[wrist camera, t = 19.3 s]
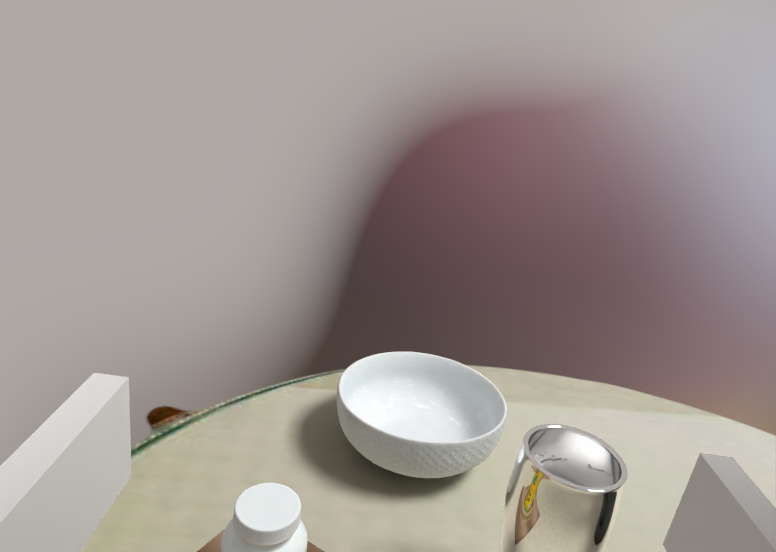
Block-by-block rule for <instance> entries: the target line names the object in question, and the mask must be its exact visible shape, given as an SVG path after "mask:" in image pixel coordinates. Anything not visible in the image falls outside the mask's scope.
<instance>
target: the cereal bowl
mask: <svg viewBox="0 0 776 552" xmlns="http://www.w3.org/2000/svg"><path fill="white" fill-rule="evenodd" d="M337 411H338V417H339V422H340V425H341V428H342V430H343V432H344V434H345V436H346V437H347V439H348V440H349V441H350V443H351V444H352V445H353V446H354V447H355V448H356V450H357V451H358V452H360V453H361V454H362V455H363V456H364V457H366V458H367V459H368V460H370V461H371V462H372V463H374V464H377V465H378V466H380V467H382V468H384V469H386V470H390V471H392V472H395V473H399V474H401V475H405V476H410V477H417V478H441V477H448V476H453V475H456V474H460V473H462V472H466V471H467V470H469V469H472V468H473V467H475V466H477V465H479V464H480V463H481V462H482V461H484V460H485V458H487V457H488V456H489V455H490V453H491V452H492V451H493V449H494V448H495V447H496V445H497V442H498V441H499V439H500V436H501V434H502V431H503V428H504V424H505V421H506V415H507V406H506V402H505V400H504V398H503V396H502V394H501V393H500V391H499V390H498V389H497V387H496V386H495V385H494V384H493V383H492V382H491V381H490V380H489V379H487V378H486V377H485V376H483V375H482V374H480V373H479V372H477V371H475V370H473V369H472V368H470V367H468V366H466V365H463V364H461V363H459V362H456V361H453V360H450V359H447V358H443V357H440V356H436V355H431V354H425V353H416V352H388V353H381V354H376V355H372V356H368V357H365V358H363V359H361V360H358V361H356V362H355V363H353V364H352V365H350V366H349V367H348V368H347V369H346V370H345V371H344V372H343V374H342V375H341V377H340V379H339V383H338V387H337Z"/></svg>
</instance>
